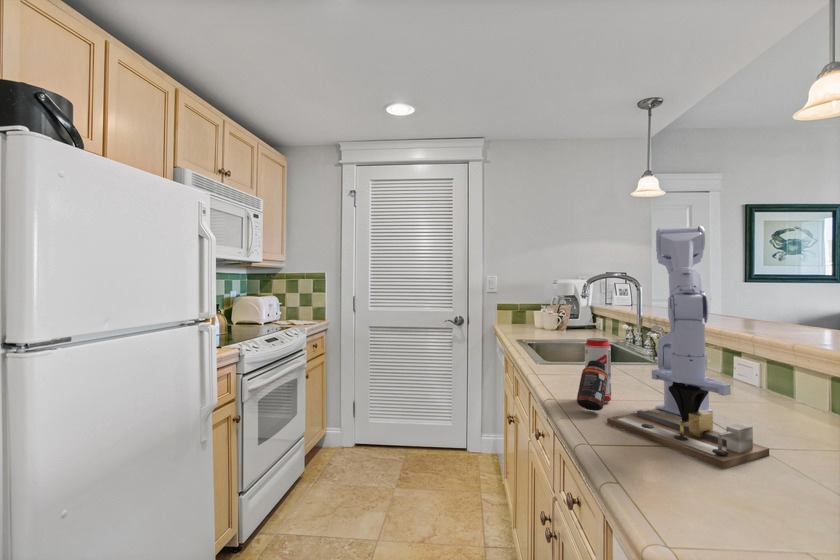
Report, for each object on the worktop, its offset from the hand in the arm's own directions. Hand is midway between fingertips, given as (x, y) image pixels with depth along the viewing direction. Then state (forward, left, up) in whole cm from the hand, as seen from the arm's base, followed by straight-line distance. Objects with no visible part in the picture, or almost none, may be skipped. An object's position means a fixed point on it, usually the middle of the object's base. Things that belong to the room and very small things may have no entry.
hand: (688, 422), depth 82 cm
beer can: (-3, -26, -3) cm, 26 cm away
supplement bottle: (+7, -19, -1) cm, 20 cm away
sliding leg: (+2, +2, -2) cm, 3 cm away
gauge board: (+1, -1, -3) cm, 3 cm away
